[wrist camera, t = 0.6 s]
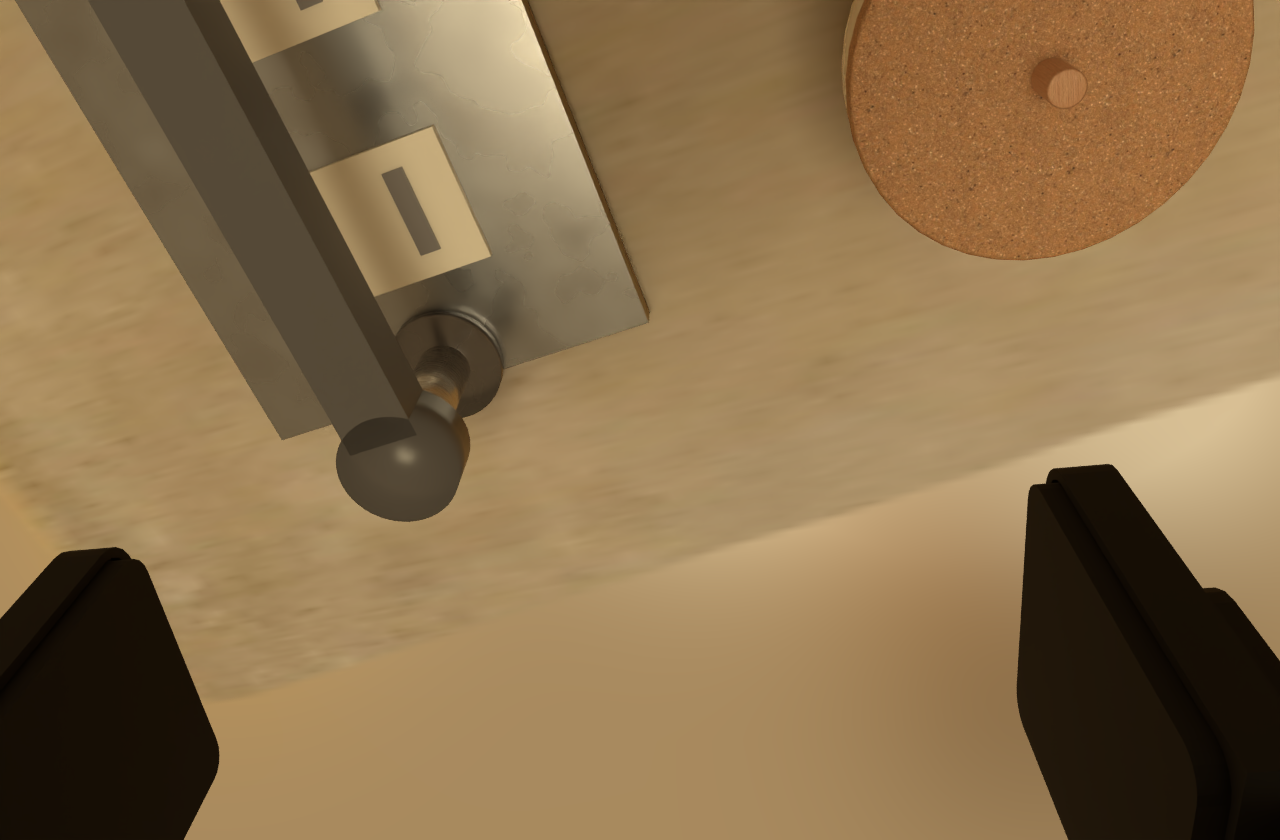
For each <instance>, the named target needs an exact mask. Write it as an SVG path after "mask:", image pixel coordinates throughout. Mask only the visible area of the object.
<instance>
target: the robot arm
mask: <svg viewBox="0 0 1280 840" xmlns="http://www.w3.org/2000/svg"><path fill="white" fill-rule="evenodd" d="M1017 675H1018V676H1017V702H1018V708H1019V713H1020V717H1021V721H1022V724H1023V727H1024V730H1025V732H1026V735H1027V737H1028V739H1029V742H1030V745H1031V747H1032V750H1033V752H1034V755H1035V757H1036V760H1037V762H1038V765H1039V767H1040V770H1041V772H1042V775H1043V777H1044V780H1045V782H1046V785H1047V787H1048V790H1049V792H1050V795H1051V797H1052V800H1053V802H1054V805H1055V808H1056V810H1057V813H1058V815H1059V817H1060V820H1061V823H1062V825H1063V827H1064V830H1065V833H1066V835H1067V837H1068V840H1280V661H1279V659H1278V658H1277V657H1276V655H1275V654H1274V653H1273V651H1272V650H1271V649H1270V647H1269V646H1268V645H1267V643H1266V642H1265V641H1264V639H1263V638H1262V637H1261V636H1260V634H1259V633H1258V631H1257V630H1256V629H1255V627H1254V626H1253V625H1252V624H1251V622H1250V621H1249V619H1248V618H1247V617H1246V615H1245V614H1244V613H1243V611H1242V610H1241V609H1240V607H1239V606H1238V605H1237V603H1236V602H1235V601H1234V600H1233V599H1232V598H1231V597H1230V596H1229V595H1228V594H1227V593H1226V592H1225V591H1223V590H1220V589H1218V588H1202V587H1201V586H1200V584H1199V583H1198V581H1197V580H1196V579H1195V577H1194V576H1193V574H1192V573H1191V572H1190V570H1189V569H1188V567H1187V566H1186V565H1185V563H1184V562H1183V561H1182V559H1181V558H1180V556H1179V555H1178V554H1177V552H1176V551H1175V549H1174V548H1173V547H1172V545H1171V544H1170V542H1169V541H1168V540H1167V538H1166V537H1165V536H1164V534H1163V533H1162V531H1161V530H1160V529H1159V527H1158V526H1157V524H1156V523H1155V522H1154V520H1153V519H1152V517H1151V516H1150V515H1149V513H1148V512H1147V511H1146V509H1145V508H1144V506H1143V505H1142V504H1141V502H1140V501H1139V500H1138V498H1137V497H1136V495H1135V494H1134V493H1133V491H1132V490H1131V488H1130V487H1129V486H1128V484H1127V483H1126V481H1125V480H1124V479H1123V477H1122V476H1121V474H1120V473H1119V472H1118V470H1117V469H1116V468H1115V467H1114V466H1113V465H1110V464H1103V465H1092V466H1079V467H1067V468H1055V469H1052V470H1051V471H1050V472H1049V474H1048V477H1047V481H1046V484H1035V485H1032V486H1031V487H1030V490H1029V495H1028V507H1027V523H1026V540H1025V557H1024V575H1023V591H1022V607H1021V625H1020V641H1019V657H1018V674H1017ZM218 764H219V746H218V743H217V740H216V737H215V734H214V732H213V730H212V727H211V725H210V723H209V720H208V717H207V715H206V713H205V710H204V708H203V705H202V703H201V700H200V698H199V695H198V693H197V691H196V688H195V686H194V683H193V681H192V678H191V676H190V673H189V671H188V669H187V666H186V664H185V661H184V659H183V656H182V654H181V651H180V649H179V647H178V644H177V642H176V639H175V637H174V634H173V632H172V629H171V627H170V625H169V622H168V620H167V617H166V615H165V612H164V610H163V607H162V605H161V603H160V600H159V598H158V595H157V593H156V590H155V588H154V585H153V583H152V581H151V578H150V576H149V573H148V571H147V569H146V567H145V566H144V564H143V563H142V562H141V561H139V560H136V559H131V558H130V556H129V555H128V554H127V553H126V552H125V551H124V550H123V549H120V548H117V547H112V548H100V549H89V550H77V551H68V552H63V553H61V554H59V555H58V556H57V557H56V558H54V559H53V561H52V562H51V563H50V564H49V565H48V566H47V567H46V568H45V569H44V571H43V572H42V573H41V574H40V575H39V576H38V577H37V578H36V580H35V581H34V582H33V583H32V584H31V585H30V586H29V587H28V589H27V590H26V591H25V592H24V593H23V594H22V595H21V596H20V597H19V599H18V600H17V601H16V602H15V603H14V604H13V605H12V606H11V608H10V609H9V610H8V611H7V612H6V613H5V614H4V615H3V616H2V617H1V619H0V840H184V838H185V836H186V834H187V832H188V830H189V828H190V826H191V824H192V822H193V820H194V818H195V816H196V814H197V812H198V810H199V808H200V806H201V804H202V802H203V800H204V798H205V796H206V794H207V792H208V790H209V789H210V787H211V785H212V783H213V781H214V779H215V776H216V773H217V770H218Z"/></svg>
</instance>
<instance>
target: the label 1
mask: <svg viewBox="0 0 1280 840" xmlns="http://www.w3.org/2000/svg"><path fill="white" fill-rule="evenodd" d="M220 2H221V4H222V6H223V8H224V10H225V12H226V13H227V15H228V17H229V19H230V21H231V23H232V25H233V27H234V29H235V31H236V33H237V35H238V36H239V38H240V40H241V42H242V44H243V46H244V48H245V50H246V52H247V54H248V56H249V58H250V59H251V61H252V63H253V62H255V61H258V60H260V59H263V58H265V57H268V56H270V55H272V54H275V53H277V52H280V51H282V50H285V49H287V48H290V47H292V46H295V45H297V44H299V43H302V42H304V41H307V40H309V39H312V38H314V37H317V36H319V35H322V34H324V33H326V32H329V31H331V30H334V29H336V28H339V27H341V26H344V25H346V24H349V23H351V22H353V21H356V20H358V19H361V18H363V17H366V16H368V15H371V14H373V13H376V12H378V11H380V10H381V8H380V6H379V4H378V1H377V0H220Z"/></svg>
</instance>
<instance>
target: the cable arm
mask: <svg viewBox="0 0 1280 840" xmlns="http://www.w3.org/2000/svg"><path fill="white" fill-rule="evenodd" d="M88 1H89V3H90V5H91V7H92V8H93V10H94V12H95V14H96V15H97V17H98V19H99V21H100V22H101V24H102V26H103V27H104V29H105V31H106V33H107V34H108V36H109V38H110V40H111V41H112V43H113V45H114V47H115V48H116V50H117V52H118V53H119V55H120V57H121V59H122V60H123V62H124V64H125V66H126V67H127V69H128V71H129V73H130V74H131V76H132V78H133V79H134V81H135V83H136V85H137V86H138V88H139V90H140V92H141V93H142V95H143V97H144V99H145V100H146V102H147V104H148V106H149V107H150V109H151V111H152V112H153V114H154V116H155V118H156V119H157V121H158V123H159V125H160V126H161V128H162V130H163V132H164V133H165V135H166V137H167V138H168V140H169V142H170V144H171V145H172V147H173V149H174V151H175V152H176V154H177V156H178V158H179V159H180V161H181V163H182V164H183V166H184V168H185V170H186V171H187V173H188V175H189V177H190V178H191V180H192V182H193V184H194V185H195V187H196V189H197V190H198V192H199V194H200V196H201V197H202V199H203V201H204V203H205V204H206V206H207V208H208V210H209V211H210V213H211V215H212V217H213V218H214V220H215V222H216V223H217V225H218V227H219V229H220V230H221V232H222V234H223V236H224V237H225V239H226V241H227V243H228V244H229V246H230V248H231V249H232V251H233V253H234V255H235V256H236V258H237V260H238V262H239V263H240V265H241V267H242V269H243V270H244V272H245V274H246V275H247V277H248V279H249V281H250V282H251V284H252V286H253V288H254V289H255V291H256V293H257V295H258V296H259V298H260V300H261V301H262V303H263V305H264V307H265V308H266V310H267V312H268V314H269V315H270V317H271V319H272V321H273V322H274V324H275V326H276V328H277V329H278V331H279V333H280V334H281V336H282V338H283V340H284V341H285V343H286V345H287V347H288V348H289V350H290V352H291V354H292V355H293V357H294V359H295V360H296V362H297V364H298V366H299V367H300V369H301V371H302V373H303V374H304V376H305V378H306V380H307V381H308V383H309V385H310V386H311V388H312V390H313V392H314V393H315V395H316V397H317V399H318V400H319V402H320V404H321V406H322V407H323V409H324V411H325V412H326V414H327V416H328V418H329V419H330V421H331V423H332V425H333V426H334V428H335V430H336V432H337V433H338V435H339V437H340V439H341V440H342V441H341V443H340V445H339V447H338V451H337V456H336V468H337V473H338V477H339V479H340V482H341V484H342V486H343V488H344V489H345V491H346V492H347V494H348V495H349V496H350V497H351V498H352V499H353V500H354V501H355V502H356V503H357V504H358V505H360V506H361V507H362V508H364V509H365V510H367V511H369V512H370V513H372V514H374V515H377V516H379V517H382V518H385V519H389V520H393V521H402V522H410V521H418V520H423V519H426V518H429V517H431V516H433V515H435V514H437V513H439V512H440V511H442V510H443V509H444V508H445V507H446V506H447V505H448V504H449V503H450V502H451V500H452V499H453V497H454V495H455V493H456V490H457V488H458V485H459V482H460V479H461V476H462V474H463V471H464V468H465V465H466V462H467V460H468V457H469V452H470V437H469V433H468V429H467V427H466V425H465V422H464V421H463V419H462V417H461V416H460V415H459V413H458V412H457V411H456V410H455V409H454V408H453V407H452V406H451V405H450V404H449V403H447V402H446V401H445V400H443V399H442V398H440V397H439V396H437V395H434V394H432V393H430V392H427V391H424V390H423V389H422V388H421V386H420V384H419V382H418V380H417V378H416V376H415V374H414V372H413V370H412V368H411V366H410V364H409V363H408V361H407V359H406V357H405V355H404V353H403V351H402V349H401V347H400V345H399V343H398V341H397V340H396V338H395V336H394V334H393V332H392V330H391V328H390V326H389V324H388V322H387V320H386V318H385V317H384V315H383V313H382V311H381V309H380V307H379V305H378V303H377V301H376V299H375V297H374V295H373V294H372V292H371V290H370V288H369V286H368V284H367V282H366V280H365V278H364V276H363V274H362V272H361V270H360V269H359V267H358V265H357V263H356V261H355V259H354V257H353V255H352V253H351V251H350V249H349V247H348V246H347V244H346V242H345V240H344V238H343V236H342V234H341V232H340V230H339V228H338V226H337V224H336V223H335V221H334V219H333V217H332V215H331V213H330V211H329V209H328V207H327V205H326V203H325V201H324V200H323V198H322V196H321V194H320V192H319V190H318V188H317V186H316V184H315V182H314V180H313V178H312V176H311V175H310V173H309V171H308V169H307V167H306V165H305V163H304V161H303V159H302V157H301V155H300V153H299V152H298V150H297V148H296V146H295V144H294V142H293V140H292V138H291V136H290V134H289V132H288V130H287V129H286V127H285V125H284V123H283V121H282V119H281V117H280V115H279V113H278V111H277V109H276V107H275V106H274V104H273V102H272V100H271V98H270V96H269V94H268V92H267V90H266V88H265V86H264V84H263V82H262V81H261V79H260V77H259V75H258V73H257V71H256V69H255V67H254V65H253V63H252V61H251V59H250V58H249V56H248V54H247V52H246V50H245V48H244V46H243V44H242V42H241V40H240V38H239V36H238V35H237V33H236V31H235V29H234V27H233V25H232V23H231V21H230V19H229V17H228V15H227V13H226V12H225V10H224V8H223V6H222V4H221V2H220V0H88Z"/></svg>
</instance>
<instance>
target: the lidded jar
mask: <svg viewBox="0 0 1280 840" xmlns="http://www.w3.org/2000/svg"><path fill="white" fill-rule="evenodd" d="M1253 37H1254V6H1253V0H854V1H853V3H852V6H851V10H850V14H849V18H848V22H847V26H846V29H845V35H844V45H843V54H842V82H843V96H844V100H845V105H846V110H847V115H848V119H849V123H850V127H851V132H852V137H853V141H854V143H855V146H856V148H857V151H858V153H859V156H860V159H861V161H862V164H863V166H864V168H865V170H866V172H867V173H868V175H869V177H870V178H871V180H872V182H873V183H874V185H875V187H876V188H877V190H878V192H879V193H880V195H881V196H882V197H883V198H884V199H885V201H886V202H887V203H888V204H889V205H890V206H891V207H892V209H893V210H894V211H895V212H896V213H897V214H898V215H899V216H900V217H901V218H902V219H904V220H905V221H906V222H907V223H909V224H910V225H911V226H912V227H914V228H915V229H916V230H917V231H918V232H920V233H922V234H924V235H925V236H927V237H929V238H931V239H933V240H934V241H936V242H938V243H940V244H941V245H944V246H946V247H949V248H952V249H955V250H958V251H961V252H963V253H966V254H970V255H975V256H980V257H986V258H991V259H1001V260H1030V259H1039V258H1048V257H1055V256H1059V255H1063V254H1066V253H1070V252H1074V251H1078V250H1082V249H1085V248H1087V247H1090V246H1092V245H1095V244H1097V243H1099V242H1102V241H1104V240H1107V239H1109V238H1112V237H1113V236H1115V235H1117V234H1119V233H1121V232H1122V231H1124V230H1126V229H1128V228H1129V227H1131V226H1133V225H1135V224H1137V223H1138V222H1140V221H1141V220H1142V219H1144V218H1145V217H1147V216H1148V215H1149V214H1151V213H1152V212H1153V211H1155V210H1156V209H1157V208H1159V207H1160V206H1161V205H1163V204H1164V203H1165V202H1166V201H1167V200H1168V199H1169V198H1171V197H1172V196H1173V195H1174V194H1175V193H1176V192H1177V191H1178V190H1179V189H1180V188H1181V187H1182V186H1183V185H1184V184H1185V183H1186V182H1187V181H1188V180H1189V179H1190V178H1191V177H1192V175H1193V174H1194V173H1195V172H1196V170H1197V169H1198V168H1199V167H1200V166H1201V164H1202V163H1203V162H1204V161H1205V159H1206V158H1207V157H1208V156H1209V155H1210V153H1211V151H1212V150H1213V148H1214V146H1215V145H1216V143H1217V142H1218V140H1219V138H1220V137H1221V135H1222V133H1223V132H1224V130H1225V129H1226V127H1227V125H1228V123H1229V121H1230V118H1231V116H1232V114H1233V112H1234V110H1235V107H1236V105H1237V103H1238V101H1239V98H1240V96H1241V93H1242V89H1243V86H1244V82H1245V79H1246V76H1247V72H1248V69H1249V65H1250V59H1251V52H1252V44H1253Z"/></svg>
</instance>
